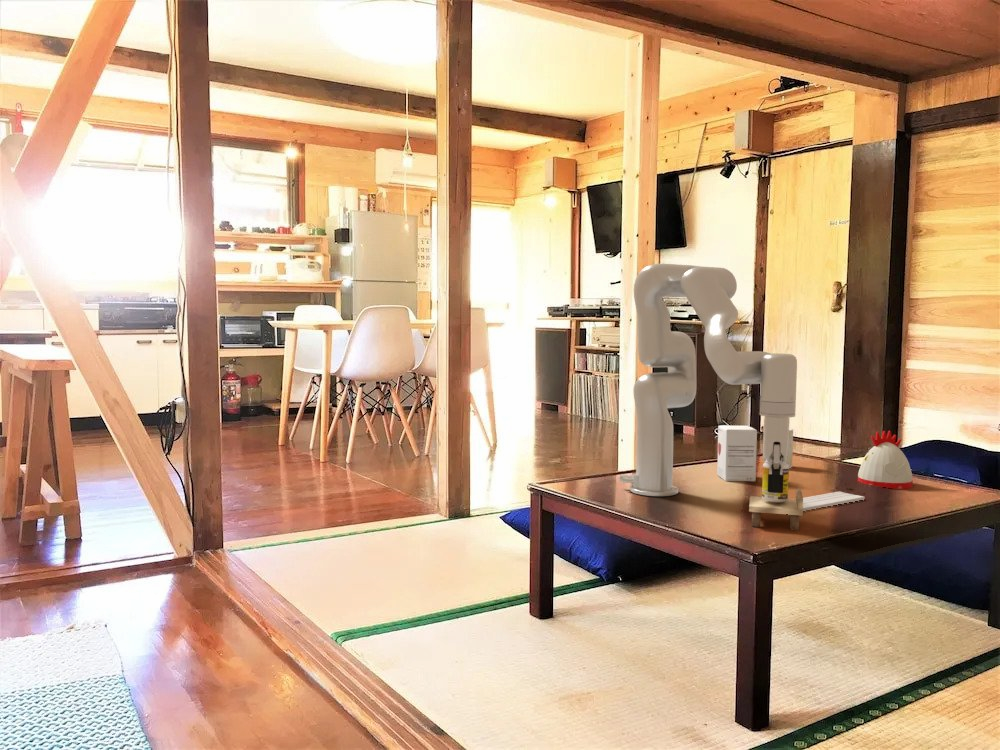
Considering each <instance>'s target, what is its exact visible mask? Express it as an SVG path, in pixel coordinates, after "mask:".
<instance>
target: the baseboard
mask: <svg viewBox="0 0 1000 750" xmlns="http://www.w3.org/2000/svg"><path fill="white" fill-rule="evenodd" d="M837 489H840V488H838V487H837ZM842 490H844V491H845V490H846V491H848V492H850V491H851V492H853V493H855V491H854V489H853V488H848V487H846V488H845V489H843V488H842ZM853 493H847V492H843V491H835V489H831V492H830V493H829V492H828V493H823V494H822V493H821V494H816V495H811V496H807V497H806V496H805V497H803V511H805V512H807V511H806V510H810V511H812V510H811V509H815V510H817V509H816V508H821V507H826V508H828V507H827V506H831V507H834V506H833V505H837V506H839V505H838V504H842V505H845V504H844V503H847V504H850V503H849V502H853V503H856V502H855V501H858V502H860V501H859V500H863V501H865V500H864V499H865V494H866V493H865V492H863V493H862V492H861V494H863V495H864V496H863V495H858V494H860V492H858V491H857V494H853ZM821 509H822V508H821Z"/></svg>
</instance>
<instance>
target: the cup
mask: <svg viewBox="0 0 1000 750" xmlns="http://www.w3.org/2000/svg"><path fill="white" fill-rule="evenodd" d="M793 442H794V429H793V428H791V427H789V439H788V450H787V457H786V462H785V463H786V464H788V465H789V468H791V467H792V468H793V456H794V455H793V452H794V451H793V450H794V448H793V446H794V443H793ZM765 462H767V459H766V461H764V463H765ZM792 468H791V469H792Z"/></svg>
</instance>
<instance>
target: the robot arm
mask: <svg viewBox="0 0 1000 750" xmlns="http://www.w3.org/2000/svg"><path fill="white" fill-rule="evenodd" d="M736 293H737V279H736V277H735V275H734V274H733V272H732V271H730V270H729V269H727V268H725V267H717V266H716V267H715V266H701V265H691V264H690V265H689V264H688V265H687V264H678V263H677V264H676V263H675V264H674V263H653V264H649V265H647V266H645V267H643V268H642V269H641V270H640V271H639V273H638V274H637V276H636V278H635V280H634V284H633V298H634V300H633V301H634V303H635V304H634V305H635V310H636V318H637V322H636V323H637V325H636V326H637V351H638V358H639V359H638V360H639V361H640V363H641V364H642V365H643V366H645V367H647V368H667V372H663V371H662V372H650V373H645V374H643V375H641V376H640V377H638V378H637V380H635V383H634V384H633V399H634V404H635V411H636V412H635V413H636V458H635V459H636V462H635V463H636V465H635V469H636V470H635V473H632V474H631V475H628V474H620V475H619V482H620V483H621V482H622V483H625V484H629V483H630V484H631V485H630V486H629V490H630V492H632V493H633V494H635V495H641V496H647V497H671V496H674V495H675V496H676V495H678V493H679V487H677V486H676V485H673V483H674V482H673V475H674V472H673V471H674V470H673V468H674V467H673V466H674V465H673V464H674V423H673V420H672V416H671V415H670V412H669V411H668V409H675V408H684V407H687V406H689V405H691V404H692V403H693V401H694V399H695V397H696V394H697V354H696V347H695V344H694V342H693V339H692V338H691V337H690V336H689V335H688V334H687V333H685V332H682V331H677V330H676V331H672V330H671V316H670V310H669V308H668V306H667V304H666V303H665V302H664V300H663V298H686V299H687V300H688V302H689V304H690V305H691V307H692V309H693V310H694V311H695V313H696V315H697V316H698V318H699V320H700V322H701V323H702V325H703V327H704V328H705V331H704V336H703V347H704V352H705V355H706V359H707V360H708V362H709V364H710V365H711V367H712V369H713V371H714V372H715V374H716V375H717V376H718V377H719V378H720V380H722V381H723V382H724V383H725V384H728V385H731V386H735V385H736V386H738V385H759V384H760V385H759V388H760V389H759V390H760V392H759V399H760V400H759V416H762V417H764V419H763V429H762V430H763V432H762V435H763V438H762V460H763V461H764V462H765V461H766V459H769V458H770V461H769V462H770V467H769V474H768V492H772V493H783V477H784V475H782V474H783V462H784V461H786V457H787V450H788V439H789V428H790V418H795V417H796V405H797V403H796V401H797V380H798V377H797V373H798V372H797V371H798V359H797V357H796V356H795V355H794V354H791V353H773V352H772V353H771V352H767V351H759V350H758V351H757V350H756V351H755V350H753V351H750V350H749V351H743V350H742V351H740V350H739V351H737V350H736V349H735V347H734V346H733V345H732V343H731V341H730V340H729V338H728V335H727V332H726V330H728V329H729V328H730V327H731V326H733V325H734V324H735V322H736V321H737V319H738V316H739V311H738V309H737V307H736V306H735V305H734V303H733V301H732V300H731V299H732V298H733V297H734V296H735V294H736ZM783 456H784V457H783ZM771 458H774V460H771ZM780 458H781V460H780ZM772 463H773V464H772Z"/></svg>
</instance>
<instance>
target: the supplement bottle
mask: <svg viewBox="0 0 1000 750" xmlns="http://www.w3.org/2000/svg"><path fill="white" fill-rule="evenodd" d="M783 457H784V456H783ZM771 460H774V458H771ZM780 460H781V458H780ZM769 461H770V458H769V459H767V462H765V461H764V463H763V464H762V482H761V497H762V498H763V499H764V500H766V501H771V502H785V501H787V499H789V498H788V497H789V481H790V480H789V478H790V476H789V475H790V469H789V465H788V464H786V463H785V462H786V461H784V462H783V474H782V475H784V477H783V493H772V492H768V474H769V467H770V462H769ZM772 464H773V463H772Z"/></svg>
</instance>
